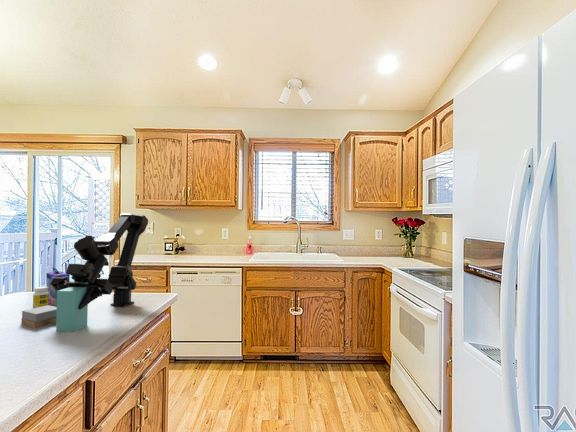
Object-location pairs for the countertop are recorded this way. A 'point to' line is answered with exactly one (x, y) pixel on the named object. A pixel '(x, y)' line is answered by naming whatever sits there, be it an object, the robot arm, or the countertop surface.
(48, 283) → the ink cartridge box
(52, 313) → the tower top
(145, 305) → the countertop surface
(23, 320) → the tower base
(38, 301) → the supplement bottle
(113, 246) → the robot arm
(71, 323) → the column
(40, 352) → the countertop surface
